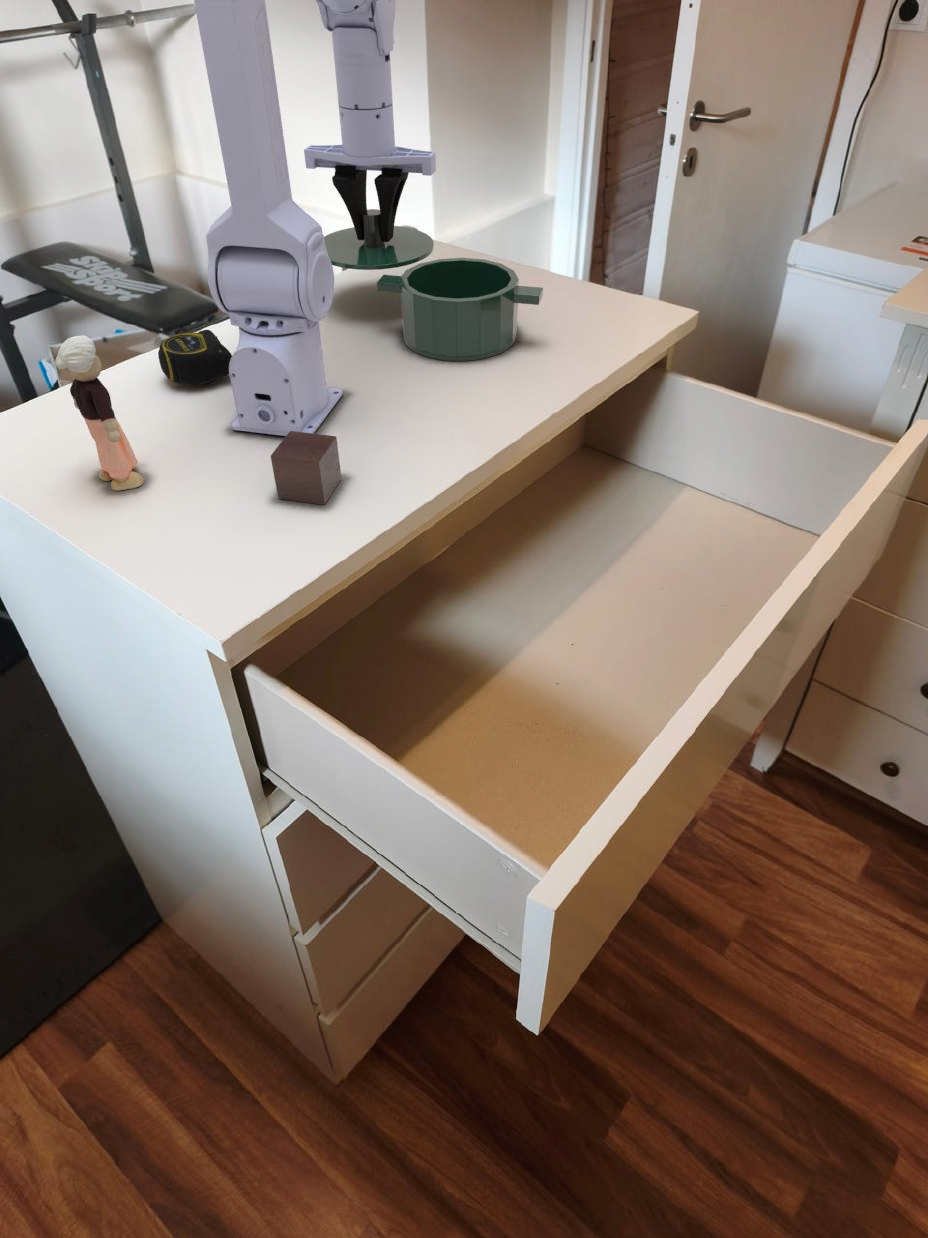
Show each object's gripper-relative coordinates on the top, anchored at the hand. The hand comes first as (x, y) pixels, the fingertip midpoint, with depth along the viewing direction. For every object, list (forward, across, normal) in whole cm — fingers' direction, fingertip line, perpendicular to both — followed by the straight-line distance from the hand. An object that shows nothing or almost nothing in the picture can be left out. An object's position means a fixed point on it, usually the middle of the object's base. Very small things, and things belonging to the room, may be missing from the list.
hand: (375, 238), depth 99 cm
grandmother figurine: (+8, +10, +43) cm, 45 cm away
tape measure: (+8, +12, +23) cm, 27 cm away
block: (+7, -7, +41) cm, 42 cm away
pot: (+7, -12, +8) cm, 16 cm away
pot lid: (+1, 0, 0) cm, 1 cm away
